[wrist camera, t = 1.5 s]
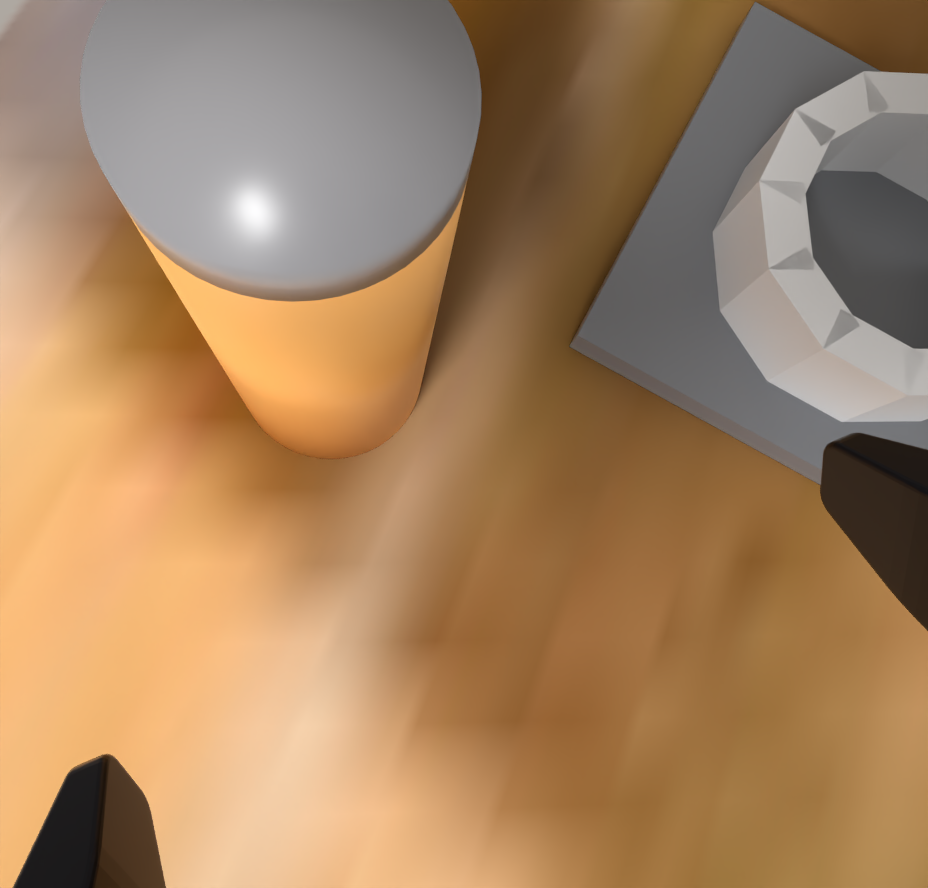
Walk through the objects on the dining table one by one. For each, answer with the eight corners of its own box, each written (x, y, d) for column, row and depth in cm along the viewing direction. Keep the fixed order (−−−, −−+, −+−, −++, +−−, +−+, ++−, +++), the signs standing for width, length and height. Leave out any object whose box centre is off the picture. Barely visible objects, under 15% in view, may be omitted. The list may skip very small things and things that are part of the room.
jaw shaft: (453, 339, 24) (547, 34, 11) (366, 491, 23) (360, 345, 10) (299, 254, 24) (218, -148, 11) (204, 403, 23) (-5, 144, 10)
